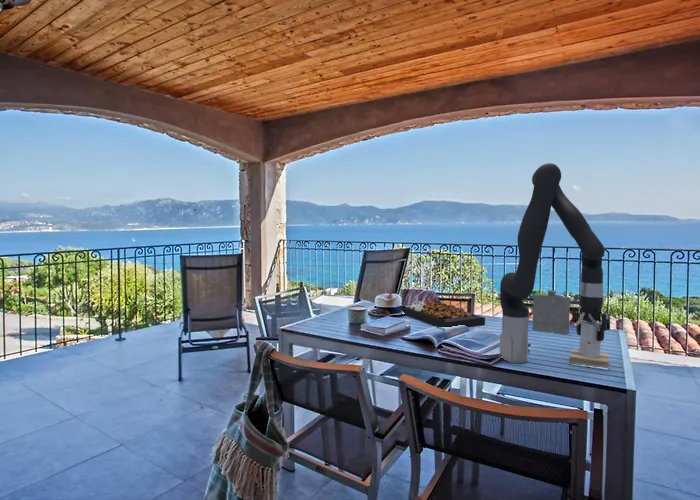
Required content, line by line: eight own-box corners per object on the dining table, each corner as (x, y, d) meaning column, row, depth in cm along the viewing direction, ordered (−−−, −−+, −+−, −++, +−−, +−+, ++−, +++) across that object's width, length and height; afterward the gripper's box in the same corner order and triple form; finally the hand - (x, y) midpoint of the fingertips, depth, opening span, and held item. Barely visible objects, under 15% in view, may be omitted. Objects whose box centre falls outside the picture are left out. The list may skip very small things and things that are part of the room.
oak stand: (607, 370, 151) (608, 362, 151) (569, 365, 157) (570, 357, 157) (607, 361, 161) (607, 353, 161) (571, 356, 168) (572, 348, 167)
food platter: (398, 313, 250) (398, 296, 249) (433, 310, 260) (433, 293, 259) (445, 331, 209) (445, 310, 208) (485, 326, 219) (485, 306, 218)
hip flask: (531, 330, 208) (532, 289, 207) (533, 328, 212) (534, 288, 210) (568, 335, 199) (569, 292, 198) (569, 333, 202) (570, 291, 201)
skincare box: (578, 353, 162) (579, 321, 161) (589, 352, 162) (590, 321, 162) (589, 358, 156) (590, 325, 155) (601, 357, 156) (602, 325, 155)
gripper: (567, 292, 163) (566, 334, 164) (600, 298, 150) (599, 344, 151) (582, 291, 166) (581, 332, 167) (616, 297, 152) (614, 342, 153)
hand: (589, 337), depth 159 cm, fingers open, 8 cm apart
